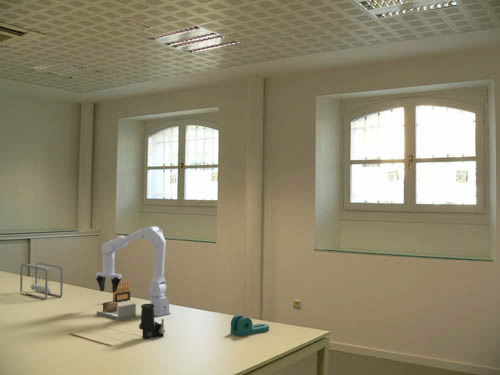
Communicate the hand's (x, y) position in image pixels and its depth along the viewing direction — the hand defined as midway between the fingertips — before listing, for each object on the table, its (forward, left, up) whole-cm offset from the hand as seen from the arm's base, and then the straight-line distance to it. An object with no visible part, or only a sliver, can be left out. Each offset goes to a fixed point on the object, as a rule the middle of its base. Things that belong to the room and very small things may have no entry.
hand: (108, 291), depth 275 cm
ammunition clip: (+14, -18, -10) cm, 25 cm away
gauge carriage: (-8, +5, -8) cm, 13 cm away
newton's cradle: (+62, +4, -10) cm, 62 cm away
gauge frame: (-13, +5, -10) cm, 17 cm away
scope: (-56, +19, -10) cm, 60 cm away
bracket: (-82, -17, -10) cm, 85 cm away
